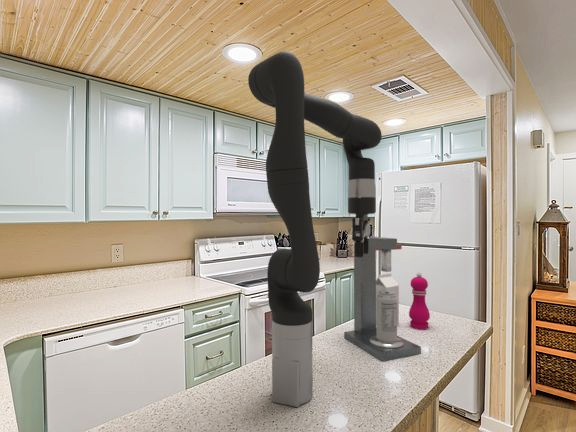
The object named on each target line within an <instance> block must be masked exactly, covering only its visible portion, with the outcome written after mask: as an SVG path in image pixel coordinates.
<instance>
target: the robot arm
mask: <svg viewBox="0 0 576 432" xmlns="http://www.w3.org/2000/svg"><path fill="white" fill-rule="evenodd" d="M247 81H248V82H247V83H248V87H249V90H250V92H251V94H252V96H253V97H254V98H255V99H256V100H257V101H258V102H260V103H261V104H264V105H266V106H269V107H272V108H274V111H275V124H274V131H273V134H272V138H271V141H270V143H269V148H268V150H267V155H266V161H265V174H266V184H267V193H268V195H269V198H270V201H271V203H272V204H273V206H274V208H275V210H276V211H277V214H279V216H280V219H282V221H283V223H284V225H285V227H286V229H287V232H288V236H289V242H290V243H289V244H290V248H278V249H277V250H275V251H274V252H273V253H272V254H271V256H270V258H269V260H268V264H267V276H266V277H267V293H268V295H267V296H268V297H267V298H268V306H269V309H270V311H271V316H272V317H271V319H272V320H271V324H272V325H271V327H272V329H271V330H272V331H271V352H272V355H271V356H272V357H271V359H272V360H271V364H272V365H271V402H273V403H277V404H282V405H286V406H290V407H295V408H299V407H300V406H301V405H304V404H306V403H308V402H309V401H311V399H312V398H313V395H314V391H313V389H314V388H313V385H314V382H313V379H314V377H313V376H314V375H313V369H314V368H313V308H312V307H311V305H309V303H307V302H306V301H304V299H303V298H302V297H301V296H300V294H299V293H310V292H311V293H312V291H314V290H315V289H316V287H317V286H318V284H319V281H320V274H321V273H320V272H321V271H320V270H321V268H320V266H321V265H320V257H319V252H318V246H317V240H316V235H315V228H314V225H313V223H314V222H313V215H312V208H311V206H312V205H311V197H310V196H311V195H310V181H309V179H310V178H309V169H308V167H309V166H308V160H307V149H306V148H307V147H306V135H305V134H306V133H305V132H306V131H305V130H306V129H305V121H306V122H307V121H308V122H309V123H311V124H312V125H313V124H314V125H315V126H317V127H319V128H321V129H322V130H324V131H325V132H327V133H329V134H331V135H332V136H333V137H335V138H338V139H342V146H343V149H344V153H345V155H346V156H345V157H346V160H347V164H348V186H347V213H348V214H349V215H355V217H352V220H351V221H352V222H351V223H352V228H351V229H352V230H351V231H352V233H351V234H352V236H351V240H352V241H353V244H354V243H355V257H363V256H364V254H368V253H369V241H368V240H369V239H370V237H371V235H372V234H371V217H369V215H370V214H371V215H372V214H373V215H374V214H376V211H377V204H376V203H377V200H376V199H377V191H376V190H377V188H376V180H375V179H376V177H375V176H376V169H375V167H376V165H375V164H376V163H375V161H374V159H372V158H371V157H364V156H363V154H362V151H364V150H370V149H373V148H375V147H377V146H379V144H380V143H381V141H382V136H383V135H382V130H381V128H380V127H379V125H378V124H377V123H376V122H374V121H373V120H371V119H369V118H366V117H363V116H361V115H358V114H354V113H351V112H350V111H349V110H347V109H346V108H344V107H343V106H342V105H340V104H339V103H336V102H335V101H332V100H330V99H328V98H324V97H321V96H320V97H319V96H316V95H313V94H309V93H306V92H305V76H304V71H303V67H302V64H301V62H300V60H299V59H298V58H297V56H296V55H295V54H294V53H293V52H291V51H289V50H283V51H280V52H279V51H278V52H277V53H275V54H273V55H271V56H268V57H267V58H266V59H264V60H263V61H260V62H259V63H257V64H255V66H253V68H251V70H250V71H249V74H248V78H247Z"/></svg>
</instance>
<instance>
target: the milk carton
mask: <svg viewBox="0 0 576 432" xmlns="http://www.w3.org/2000/svg"><path fill="white" fill-rule="evenodd" d="M399 289H400V287H399V284H398V282H397V281H396V280H395V278H393V276H392V273H391V272H390V273H385V274H378V277H376V326H377V295H378V294H379V291H382V290H387V291H393V292H395V296H396V297H397V326H399V325H400V323H399V322H400V320H399V319H400V318H399V317H400V313H399V312H400V310H399V309H400V308H399V307H400V303H399V302H400V301H399V300H400V299H399V298H400V297H399V296H400V295H399V294H400V292H399V291H400V290H399Z"/></svg>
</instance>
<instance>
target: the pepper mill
mask: <svg viewBox="0 0 576 432" xmlns="http://www.w3.org/2000/svg"><path fill="white" fill-rule="evenodd" d="M422 276H423V274H422V273H421V272H416V276H414V277H413V278H411V280H410V287H411V291H412V292H411V294H412V296H413V297H412V298H413V299H412V300H413V301H412V302H411V306H410V308H409V311H408V316H409V319H410V322H409V325H410V327H411V328H412V327H413V329H415V328H417V329H416V330H427V329H426V328H428V329H429V322H428V321H429V320H430V317H431V316H430V310H429V309H428V306H427V303H426V295H427V288H428V287H429V283H428V280H427V278H425V277H422Z"/></svg>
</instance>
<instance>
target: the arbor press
mask: <svg viewBox="0 0 576 432" xmlns="http://www.w3.org/2000/svg"><path fill="white" fill-rule="evenodd" d="M368 241H369V253H368V254H364V256H363V257H355V243H354V242H353V292H354V293H353V298H354V299H353V300H354V302H353V311H354V315H353V317H354V318H353V319H354V320H353V321H354V322H353V325H354V326H353V327H354V328H353V330H350V331H349V330H348V331H344V332H343V336H344V337H343V338H344V339H345V340H347V342H348V341H349V342H350V343H352V344H353V345H355V346H357V347H358V348H360V349H361V350H363V351H365V352H367V353H368V354H370V355H371V356H372V357H374V358H376V359H378V360H379V361H381V362H386V361H391V360H392V361H393V360H396V359H402V358H405V357H410V356H415V355H420V354H422V346H420V345H418V344H416V343H414V342H412V341H410V340H407V339H406V338H404V337H401V336H399V335H397V340H395V343H392V344H386V343H382V342H380V341H379V339H378V338H377V325H376V280H377V251H380V260H381V261H380V270H381V272H385V273H389V272H390V273H391V272H392V250H393V251H394V250H402V249H403V246H402V244H398V238H394V237H381V236H373V235H372V236H371V237H370V239H369V240H368Z"/></svg>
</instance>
